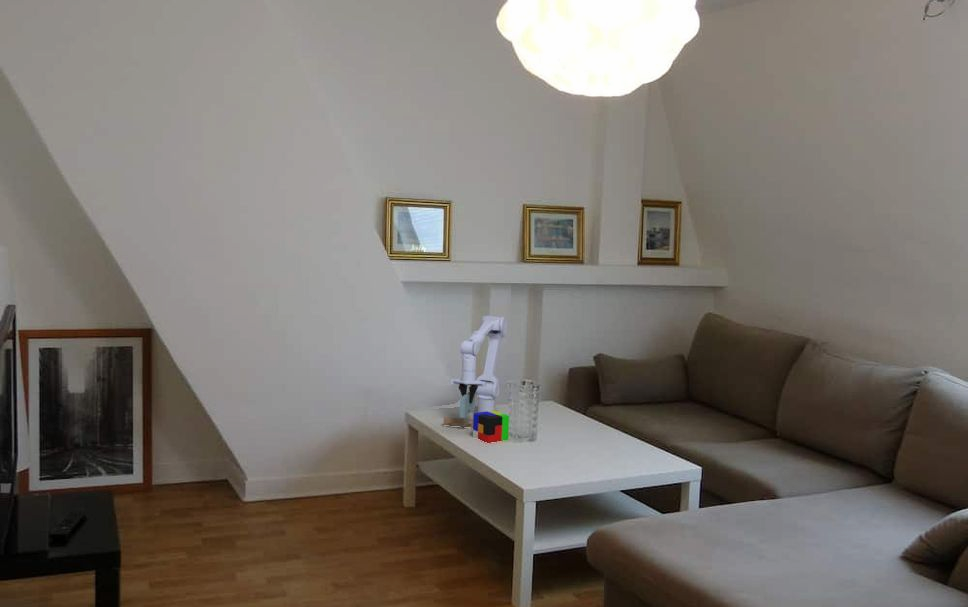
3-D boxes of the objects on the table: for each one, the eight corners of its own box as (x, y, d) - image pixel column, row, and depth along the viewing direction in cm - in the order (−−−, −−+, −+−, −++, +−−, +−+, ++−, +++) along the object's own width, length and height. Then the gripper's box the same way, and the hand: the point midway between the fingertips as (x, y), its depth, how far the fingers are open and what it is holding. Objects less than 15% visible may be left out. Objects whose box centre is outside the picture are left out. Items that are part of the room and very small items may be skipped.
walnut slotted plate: (443, 426, 377) (443, 418, 376) (444, 425, 379) (444, 417, 378) (491, 430, 373) (491, 422, 373) (492, 429, 375) (492, 420, 375)
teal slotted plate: (464, 417, 369) (465, 398, 368) (459, 417, 369) (460, 397, 368) (474, 410, 382) (474, 391, 381) (469, 409, 383) (470, 391, 382)
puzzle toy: (472, 438, 361) (473, 413, 360) (492, 434, 367) (493, 410, 366) (487, 444, 353) (488, 418, 352) (508, 440, 359) (509, 415, 358)
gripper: (448, 370, 372) (447, 402, 374) (483, 373, 368) (482, 406, 370) (454, 367, 379) (453, 399, 380) (488, 370, 375) (486, 402, 376)
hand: (467, 402), depth 375 cm, fingers closed on teal slotted plate, 2 cm apart
